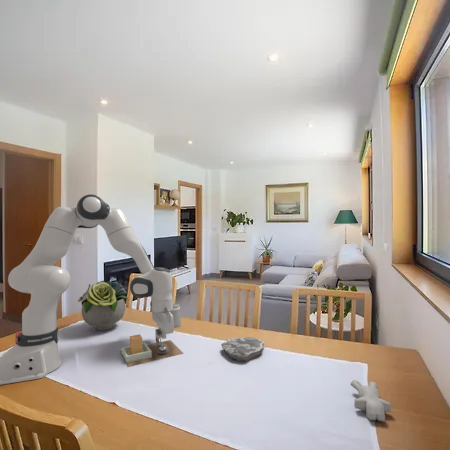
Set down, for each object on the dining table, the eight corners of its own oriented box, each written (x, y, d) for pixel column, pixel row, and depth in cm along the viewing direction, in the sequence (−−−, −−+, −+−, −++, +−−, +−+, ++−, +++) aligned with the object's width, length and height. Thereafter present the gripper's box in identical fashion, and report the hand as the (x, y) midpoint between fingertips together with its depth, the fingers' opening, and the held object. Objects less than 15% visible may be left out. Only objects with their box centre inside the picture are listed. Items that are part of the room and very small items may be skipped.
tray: (126, 363, 111) (126, 356, 111) (121, 353, 119) (121, 347, 119) (151, 357, 116) (151, 351, 116) (145, 348, 124) (145, 342, 124)
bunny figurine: (358, 407, 79) (347, 373, 94) (358, 424, 80) (347, 388, 95) (397, 412, 77) (379, 376, 92) (396, 429, 78) (379, 391, 93)
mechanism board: (127, 371, 108) (127, 364, 108) (119, 354, 122) (119, 348, 122) (183, 357, 119) (183, 350, 119) (170, 343, 133) (170, 337, 133)
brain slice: (235, 340, 136) (235, 334, 136) (269, 348, 128) (269, 341, 128) (212, 357, 119) (212, 349, 119) (250, 367, 111) (250, 359, 111)
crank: (167, 350, 119) (167, 336, 119) (160, 352, 118) (160, 338, 118) (160, 341, 129) (160, 328, 129) (153, 342, 127) (153, 329, 127)
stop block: (142, 355, 117) (142, 337, 117) (132, 357, 115) (131, 339, 115) (139, 351, 120) (139, 334, 120) (129, 353, 118) (129, 336, 118)
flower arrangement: (78, 324, 159) (77, 279, 159) (126, 317, 170) (126, 275, 170) (76, 340, 137) (76, 288, 137) (132, 331, 147) (131, 283, 147)
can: (173, 331, 147) (172, 307, 147) (163, 328, 152) (162, 305, 152) (183, 327, 153) (183, 304, 153) (173, 324, 158) (173, 302, 158)
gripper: (177, 310, 119) (178, 344, 119) (162, 299, 137) (163, 328, 137) (162, 312, 116) (162, 347, 116) (149, 301, 134) (149, 331, 134)
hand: (162, 337), depth 127 cm, fingers closed
